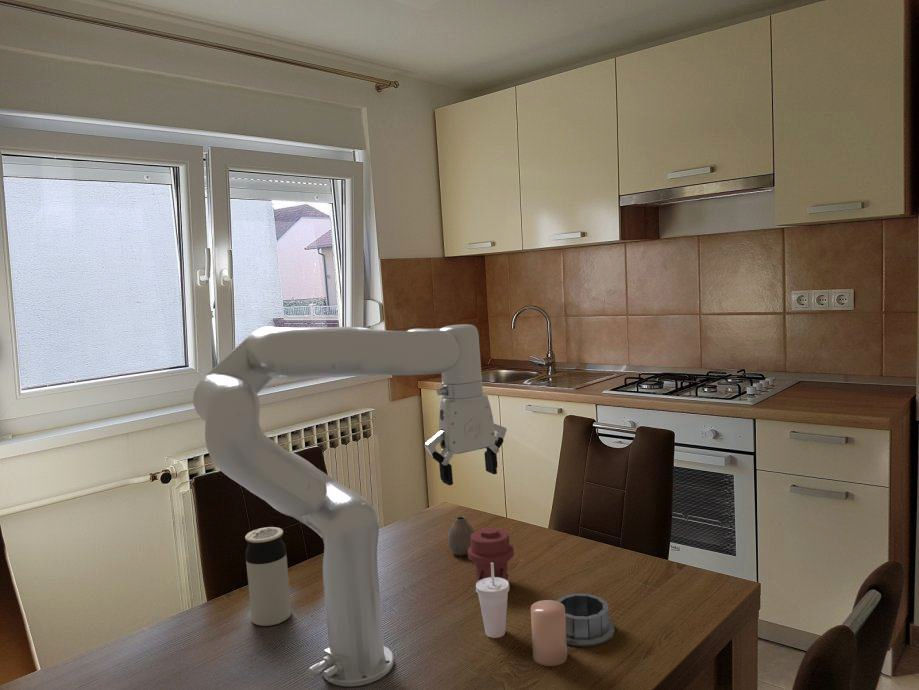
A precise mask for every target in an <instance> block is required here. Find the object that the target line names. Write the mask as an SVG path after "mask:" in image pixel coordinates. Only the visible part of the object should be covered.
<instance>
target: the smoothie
mask: <svg viewBox="0 0 919 690" xmlns="http://www.w3.org/2000/svg"><path fill="white" fill-rule="evenodd" d="M509 591H510V583H509V581H507V580H505V579H503V578H499V577H494V563H491V577H489V578H484V579H482V580H480V581H477V582H476V583H475V592H476V593H477V594H478V596H477V597H478V600H479V606H480V611H481V616H482V621H483V626H484V627H483V628H484V633H485V635H486V636H487V637H489V638H492V639H498V638H502V637H503V636H504V635H505V633H506V624H507V623H506V622H507V609H508V596H509V595H508V593H509Z"/></svg>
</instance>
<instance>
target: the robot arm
mask: <svg viewBox="0 0 919 690" xmlns="http://www.w3.org/2000/svg"><path fill="white" fill-rule="evenodd" d="M480 349H481V348H480V339H479V331H478V328H477V327H476V326H475V325H473V324H467V323H463V324H461V323H459V324H452V325H446V326H443V327H440V328H439V327H437V328H436V327H435V328H421V327H420V328H419V327H418V328H410V329H408V330H405V331H404V330H385V329H375V328H369V327H362V326H361V327H360V326H359V327H358V326H328V327H327V326H320V327H319V326H318V327H314V326H310V327H309V326H308V327H307V326H306V327H305V326H304V327H285V326H284V327H283V326H282V327H281V326H280V327H277V326H271V325H270V326H269V325H268V326H263V327H260V328H258V329H256V330H255V331H253V332H251V333H250V334H249V335H248V336H247V337H246V338H244V339H243V340H242V341H241V342H240V343H239V344H238V345H237V346H235V348H233V350H231V352H229V353H228V354H226V356H225V357H224V358H222V359H221V360H220V361H219V362H218V363H217V364H216V365H215V366H213V368H212V369H210V371H208V372H207V373H206V374H205V375H204V376H203V377H202V379H201V380H200V381H199V382H198V384H197V385H196V387H195V389H194V391H193V397H192V401H193V402H192V404H193V407H194V409H195V412H196V413H197V415H198V416H199V417H200V418H201V420H203V421H205V424H204V425H205V426H204V427H205V428H204V429H205V430H204V439H205V445H206V448H207V452H208V455H209V457H210V458H211V461H212V462H213V464H214V465H215V466H216V468H218V470H219V471H221V472H222V473H223V474H224V475H225V476H227V477H228V478H229V479H231V480H232V481H234V482H236V483H237V484H239V485H240V486H242V487H243V488H245V489H246V490H247V491H249V492H250V493H252V494H253V495H255V496H257V497H259V498H260V499H261V500H263V501H265V502H266V503H267V504H268V505H269V506H271V507H272V508H273V509H275V511H276V512H279V513H280V514H283V515H285V516H287V517H292V518H293V519H295V520H297V521H299V522H300V523H302V524H304V525H305V526H307V527H309V528H310V529H311V530H312V531H313V532H315V533H317V535H318V536H320V538H321V539H322V540H323V544H324V545H323V547H324V549H323V559H322V580H323V583H322V584H323V591H324V601H325V602H324V603H325V614H326V626H327V627H326V628H327V639H328V647H327V648H325V649H324V650H323V652H324V653H323V655H324V657H322V658H321V659H320V662H317V663H315V664H313V665H312V666H309V667H307V669H306V674H307V677H308V678H309V679H311V680H313V679H317V677H319V676H320V675H322V677H323V678H324V679H325V680H326V681H327V682H328V683H331V684H332V685H335V686H339V687H340V686H341V687H348V688H349V687H360V686H364V685H368V684H371V683H374V682H376V681H378V680H380V679H382V678H383V677H385V676H386V675H387V674H389V673H390V671H391V670H392V668H393V666H394V654H393V652H392V650H391V649H390V648H389V647H387V646H385V645H384V634H383V633H384V632H383V620H382V619H383V618H382V606H381V605H382V604H381V592H380V579H379V567H378V543H379V534H380V533H379V532H380V522H379V517H378V514H377V511H376V509H375V507H374V506H373V505H372V503H370V502H369V500H368V499H366V498H365V497H364V496H363V495H361V494H360V493H358V492H356V491H354V490H352V489H351V488H349V487H347V486H345V485H344V484H343V483H340V482H339V481H338V480H336V479H335V478H333V477H331V476H329V475H328V474H327V473H326V472H324V471H322V470H321V469H319V468H317V467H316V466H315V465H314V464H313V463H311V462H310V461H309V460H308V459H305V458H304V457H302V456H300V455H299V454H297V453H294V452H291V451H288V450H287V449H285V448H284V447H282V446H281V445H280V444H278V443H277V442H276V441H274V440H273V439H271V438H270V437H268V436H267V435H266V434H265V433H264V431H262V429H261V425H260V412H261V411H260V410H261V409H260V408H261V403H260V399H259V395H258V394H259V393H260V392H261V391H262V390H263V389H264V388H266V386H267V385H268V384H269V383H270V382H271V380H273V379H276V380H302V379H303V380H304V379H318V378H319V379H320V378H340V377H341V378H342V377H344V378H345V377H376V376H377V377H380V376H417V375H419V376H420V375H432V374H433V375H435V374H441V387H439V388H437V389H436V394H437V396H442V397H443V398H442V399H440V404H439V412H438V432H437V433H436V434H435V435H433V436H432V437H431V438H430V439H428V440H427V441H426V442H425V443H424V448H425V449H426V451H427V452H428V454H429V456H430V457H431V458H432V459H433V460H434V461H436V462H437V463H439V475H440V476H439V477H440V480H441V481H442V483H443V484H445V485H447V486H452V485H453V484H454V480H453V467H452V464H450V461H451V459H452V457H453V456H454V455H461V454H464V453H471V452H473V451H479V450H482V449H486V450H485V451H484V465H485V471H486V472H488V473H489V474H492V475H497V473H498V457H497V455H498V453H500V448H501V446H502V445H503V443H504V441H505V440H504V438H505V436H506V433H507V429H508V428H506V427H504V426H503V425H502V426H501V425H499V424H496V423H494V417H493V411H492V406H491V404H490V401H489V397H488V394H485V393H484V391H483V390H484V389H483V376H482V366H481V365H482V364H481V363H482V362H481V351H480ZM437 445H439V446H440V448H441V449H440V451H439V452H438V451H437V448H436V447H437Z"/></svg>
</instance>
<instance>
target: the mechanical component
mask: <svg viewBox="0 0 919 690" xmlns="http://www.w3.org/2000/svg"><path fill="white" fill-rule="evenodd" d="M514 550H515V549H514V547H513V545H512V544H511V543H510V534H509V532H508V531H506V530H504V529H502V528H501V529H500V528H496V527H491V526H490V527H484V528H482V529H478V530H475V532H474V533H472V535H471V546H470V547H469V548H468V555H467V557H468V560H470V561H471V562H472V563H474V564H475V568H476V569H475V580H476V581H477V582H478V581H480V580H482V579H484V578H489V577H491V563H494V577H499V578H503V579H505V580H507V581H508V578H509V575H508V562H509V561H511V560H512V559H513V558H514V555H515V551H514ZM508 582H509V581H508Z"/></svg>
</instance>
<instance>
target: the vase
mask: <svg viewBox="0 0 919 690" xmlns="http://www.w3.org/2000/svg"><path fill="white" fill-rule="evenodd" d="M474 532H476V530H475V529H474V527H473V526H472V525H471V524H470V523H469V522H468V520H467V518H466V517H465V516H457V517H456V518H455V519H454V522H453V524H452V525H451V526H450V527H449V530H448V533H447V543H448V547H449V549H450V550H451V552H452V553H453V554H454V555H456V556H459V557H464V556H468V548H469V547H470V546H471V535H472V533H474Z"/></svg>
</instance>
